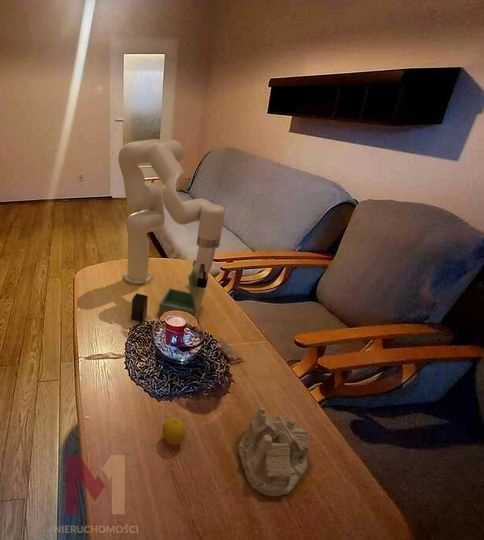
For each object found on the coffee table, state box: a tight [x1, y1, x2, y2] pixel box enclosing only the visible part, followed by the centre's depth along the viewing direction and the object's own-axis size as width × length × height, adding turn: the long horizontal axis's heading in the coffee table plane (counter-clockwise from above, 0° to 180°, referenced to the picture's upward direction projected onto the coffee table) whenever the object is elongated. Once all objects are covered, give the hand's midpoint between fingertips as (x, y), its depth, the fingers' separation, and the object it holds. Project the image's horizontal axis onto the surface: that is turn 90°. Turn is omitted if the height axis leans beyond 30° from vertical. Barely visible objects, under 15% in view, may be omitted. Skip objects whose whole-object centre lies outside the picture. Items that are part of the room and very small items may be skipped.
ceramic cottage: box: [237, 406, 311, 497], centre depth 79 cm, size 16×16×15 cm
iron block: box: [131, 292, 149, 323], centre depth 131 cm, size 4×4×10 cm
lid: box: [187, 265, 205, 311], centre depth 129 cm, size 14×13×1 cm
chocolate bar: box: [215, 341, 244, 365], centre depth 116 cm, size 11×5×1 cm, turn 20°
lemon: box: [162, 416, 186, 446], centre depth 86 cm, size 6×6×8 cm
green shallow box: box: [158, 287, 203, 319], centre depth 136 cm, size 14×13×6 cm
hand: (201, 286), depth 128 cm, fingers closed
